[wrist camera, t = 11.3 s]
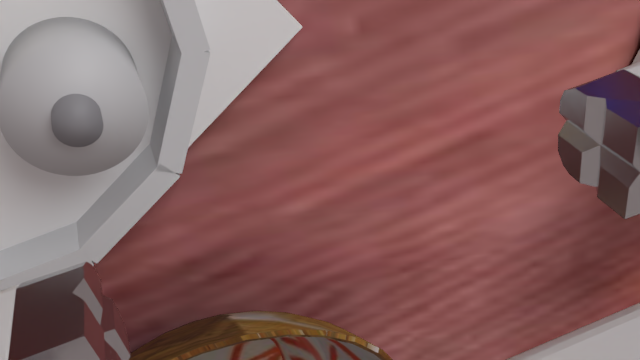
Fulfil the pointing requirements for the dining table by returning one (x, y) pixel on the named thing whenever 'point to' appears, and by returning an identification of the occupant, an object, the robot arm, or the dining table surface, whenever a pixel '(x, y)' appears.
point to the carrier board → (148, 39)
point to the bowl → (259, 340)
